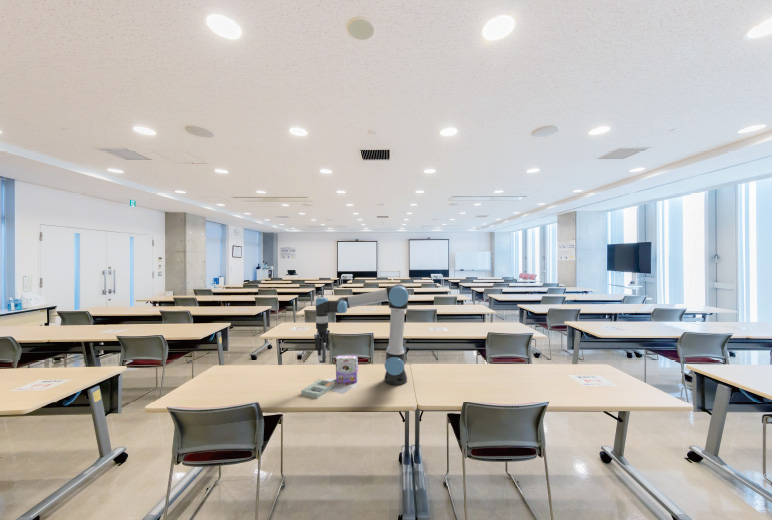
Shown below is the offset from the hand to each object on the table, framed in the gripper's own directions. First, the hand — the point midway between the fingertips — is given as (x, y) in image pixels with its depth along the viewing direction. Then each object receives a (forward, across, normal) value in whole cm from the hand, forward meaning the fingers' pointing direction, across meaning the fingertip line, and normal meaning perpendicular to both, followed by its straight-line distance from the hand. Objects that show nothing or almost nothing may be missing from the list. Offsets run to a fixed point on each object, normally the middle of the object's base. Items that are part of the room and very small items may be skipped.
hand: (322, 359), depth 200 cm
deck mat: (+19, -2, +12) cm, 22 cm away
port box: (+19, +4, 0) cm, 19 cm away
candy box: (+19, -15, +9) cm, 26 cm away
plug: (+2, 0, 0) cm, 2 cm away
